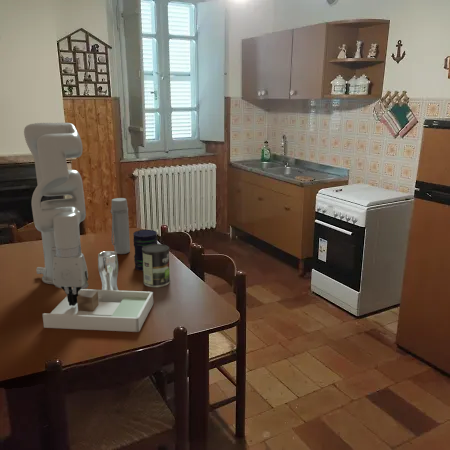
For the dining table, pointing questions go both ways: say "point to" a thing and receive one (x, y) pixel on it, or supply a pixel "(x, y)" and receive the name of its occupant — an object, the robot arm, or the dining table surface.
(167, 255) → the coffee can
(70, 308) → the box
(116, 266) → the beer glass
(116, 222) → the water bottle
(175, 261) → the dining table surface
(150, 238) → the storage jar
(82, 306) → the walnut block
